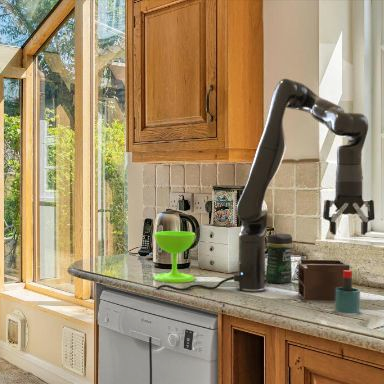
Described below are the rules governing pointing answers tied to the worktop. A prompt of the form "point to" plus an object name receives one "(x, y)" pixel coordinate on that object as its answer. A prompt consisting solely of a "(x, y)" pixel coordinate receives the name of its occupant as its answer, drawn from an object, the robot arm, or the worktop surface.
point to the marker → (347, 280)
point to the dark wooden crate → (320, 279)
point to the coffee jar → (279, 258)
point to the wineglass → (174, 253)
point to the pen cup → (347, 300)
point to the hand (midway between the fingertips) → (348, 234)
